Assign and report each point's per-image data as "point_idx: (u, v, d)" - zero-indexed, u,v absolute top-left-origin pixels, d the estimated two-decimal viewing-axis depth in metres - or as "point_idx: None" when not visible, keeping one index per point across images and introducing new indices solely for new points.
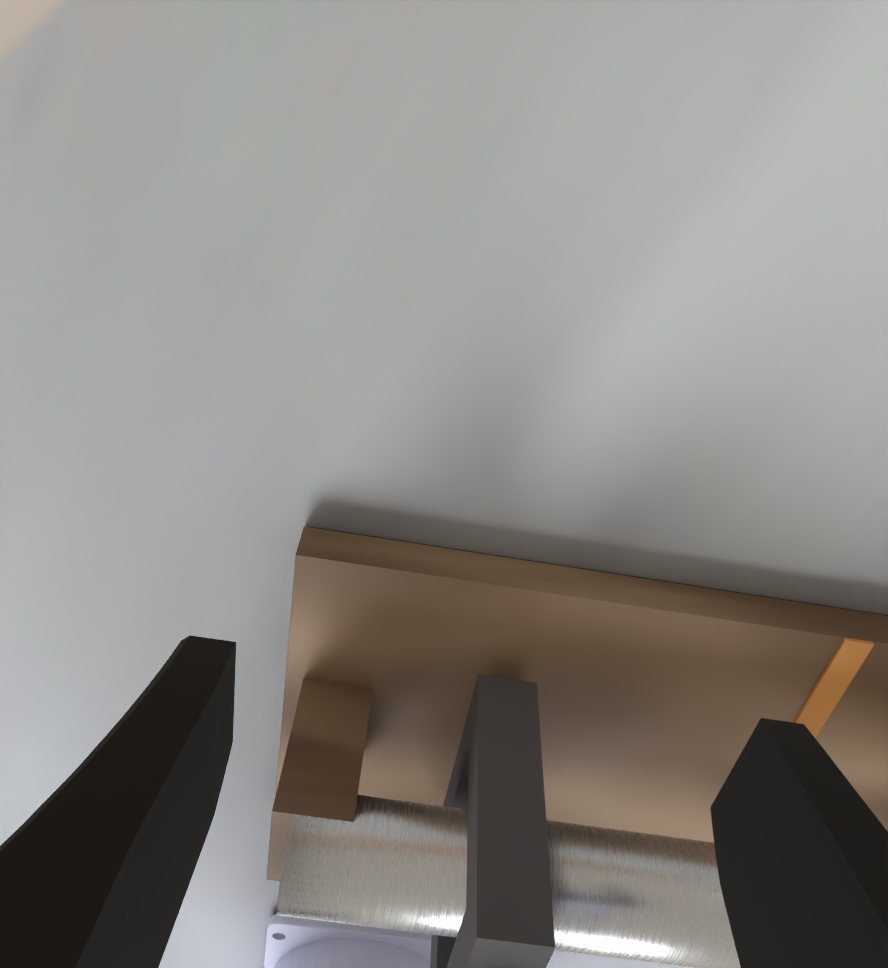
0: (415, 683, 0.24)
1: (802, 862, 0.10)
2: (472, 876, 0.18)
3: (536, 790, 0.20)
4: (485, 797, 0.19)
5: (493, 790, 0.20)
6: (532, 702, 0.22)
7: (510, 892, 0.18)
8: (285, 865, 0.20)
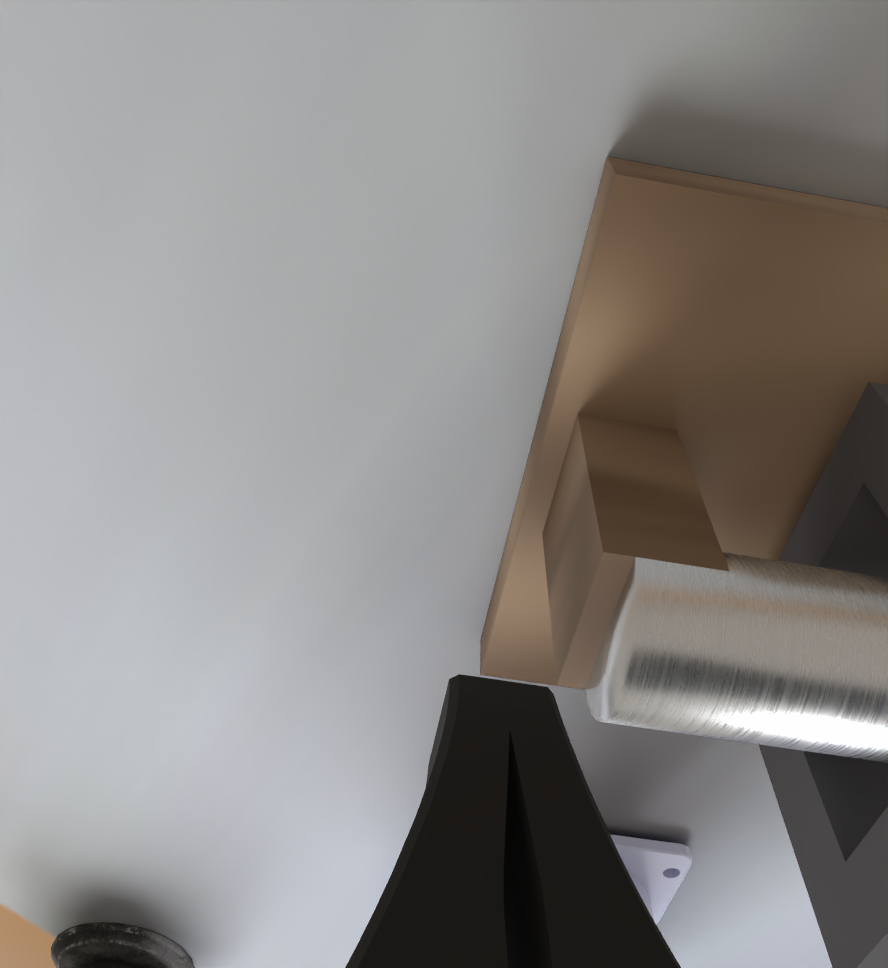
0: (743, 419, 0.16)
1: (508, 822, 0.10)
2: None
3: None
4: None
5: None
6: None
7: None
8: (641, 626, 0.12)
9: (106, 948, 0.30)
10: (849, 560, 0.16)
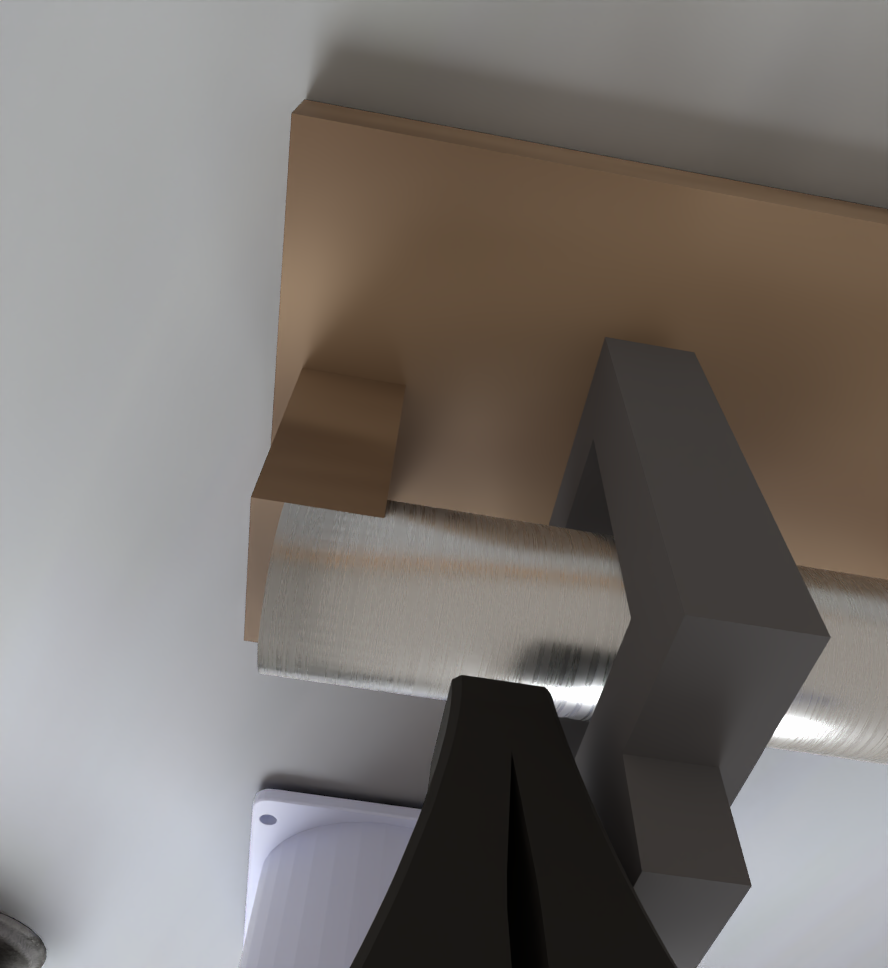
0: (470, 374, 0.16)
1: None
2: (645, 556, 0.10)
3: (730, 453, 0.12)
4: (650, 453, 0.12)
5: (662, 447, 0.12)
6: (694, 369, 0.14)
7: (727, 562, 0.10)
8: (272, 571, 0.12)
9: None
10: (595, 521, 0.15)
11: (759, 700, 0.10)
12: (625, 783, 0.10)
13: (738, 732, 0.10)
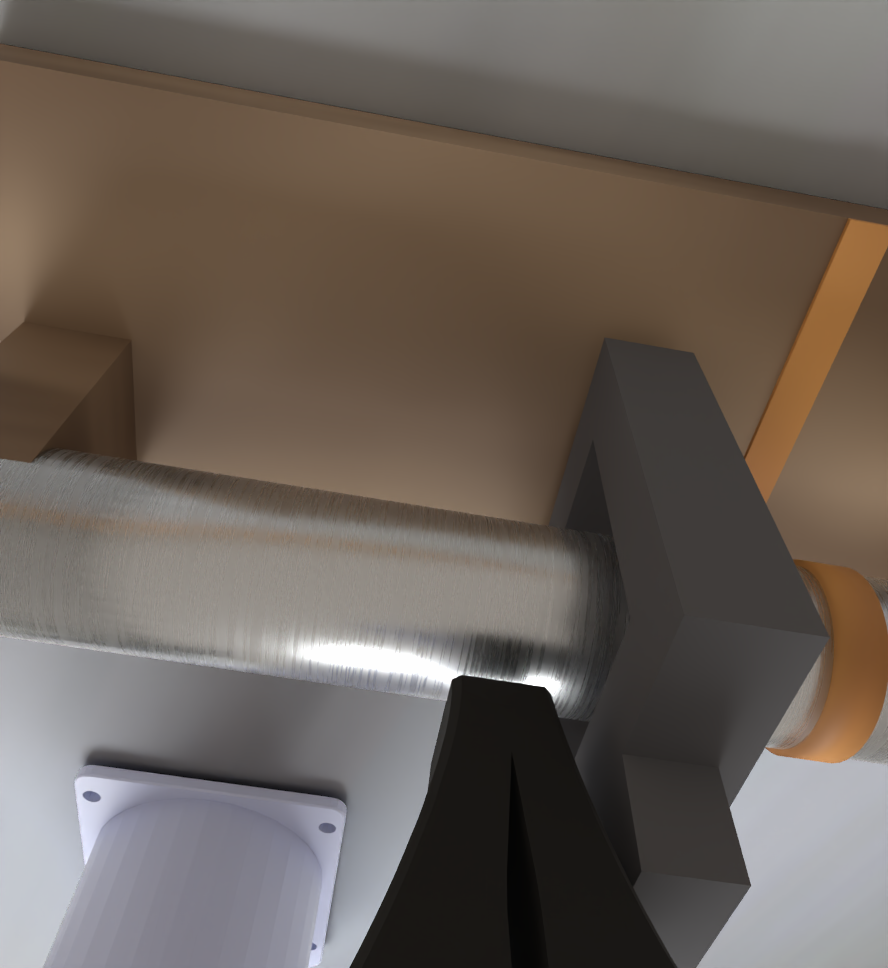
0: (194, 328, 0.16)
1: None
2: (645, 557, 0.10)
3: (730, 453, 0.12)
4: (650, 454, 0.12)
5: (661, 448, 0.12)
6: (693, 370, 0.14)
7: (726, 563, 0.10)
8: None
9: None
10: (595, 521, 0.15)
11: (758, 700, 0.10)
12: (624, 783, 0.10)
13: (738, 733, 0.10)
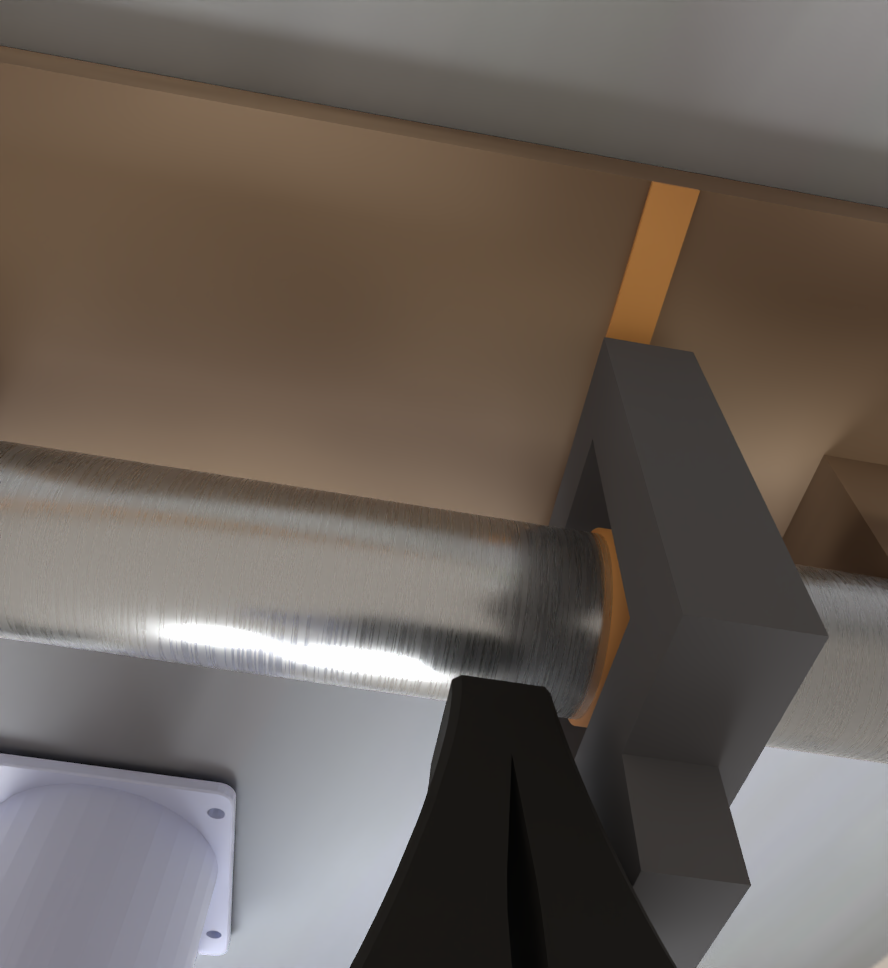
0: (9, 298, 0.16)
1: None
2: (644, 556, 0.10)
3: (729, 453, 0.12)
4: (649, 453, 0.12)
5: (660, 447, 0.12)
6: (693, 369, 0.14)
7: (725, 562, 0.10)
8: None
9: None
10: (595, 521, 0.15)
11: (759, 700, 0.10)
12: (624, 784, 0.10)
13: (737, 732, 0.10)
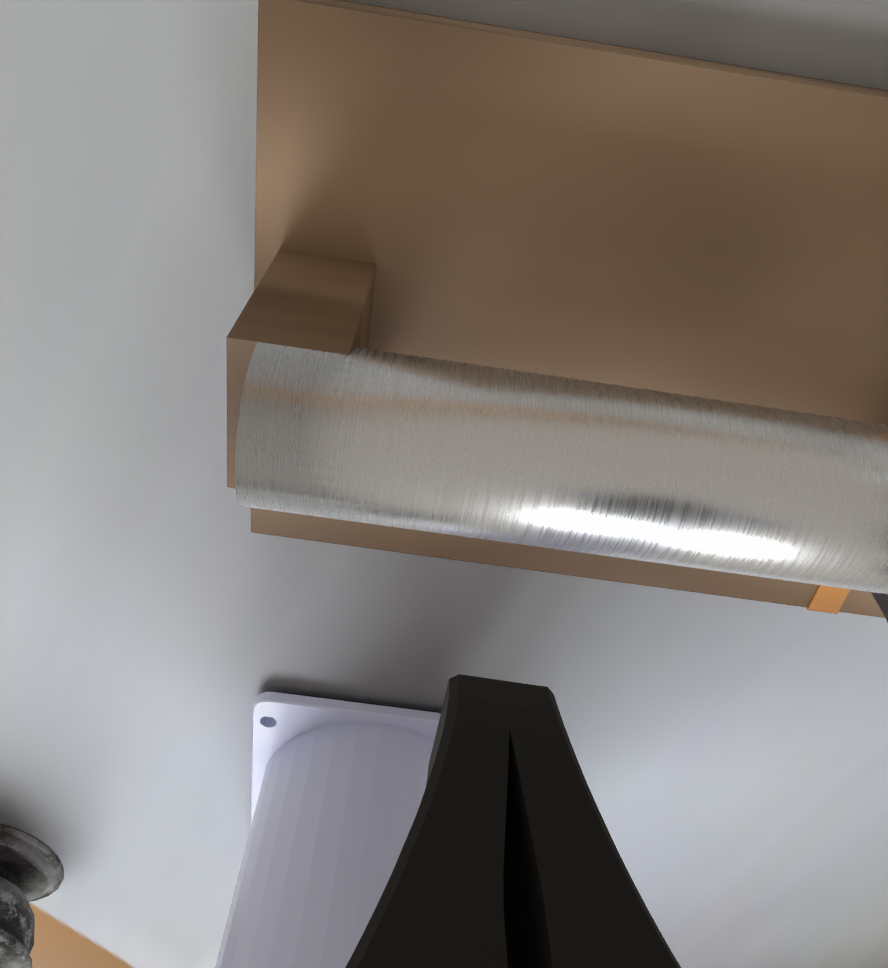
0: (436, 250, 0.17)
1: (508, 823, 0.10)
2: None
3: None
4: None
5: None
6: None
7: None
8: (245, 396, 0.13)
9: None
10: None
11: None
12: None
13: None
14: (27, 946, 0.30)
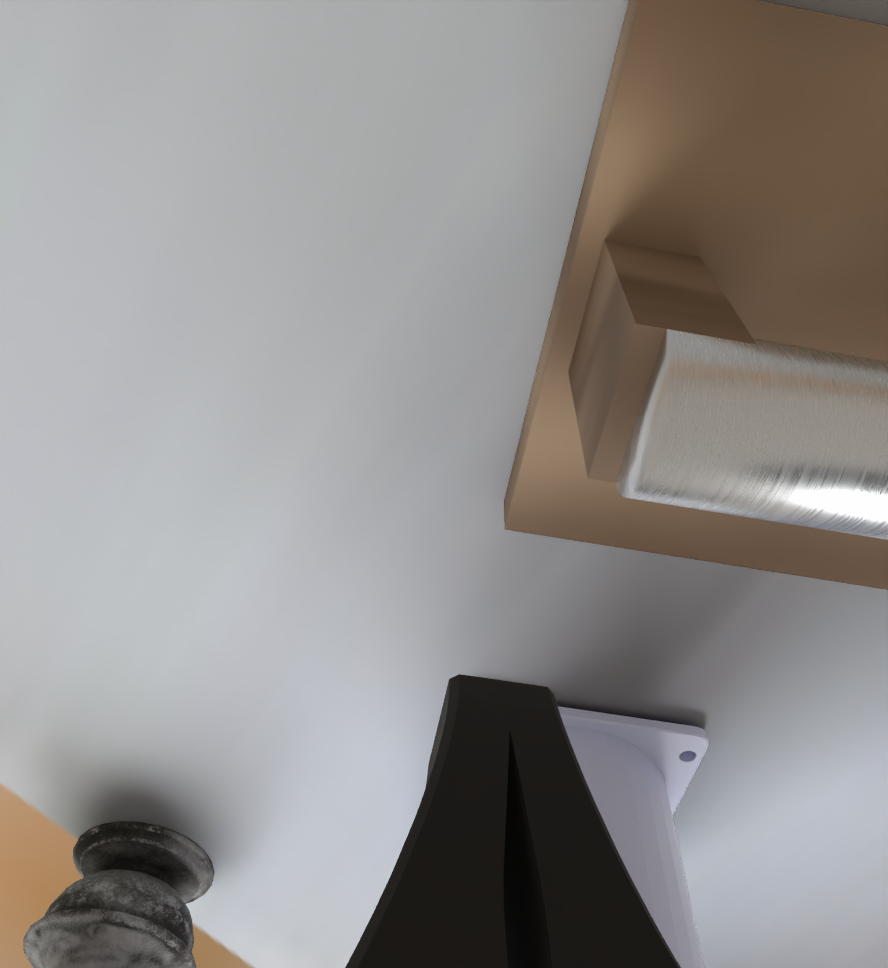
0: (764, 245, 0.17)
1: (507, 822, 0.10)
2: None
3: None
4: None
5: None
6: None
7: None
8: (674, 383, 0.13)
9: (129, 847, 0.31)
10: None
11: None
12: None
13: None
14: None
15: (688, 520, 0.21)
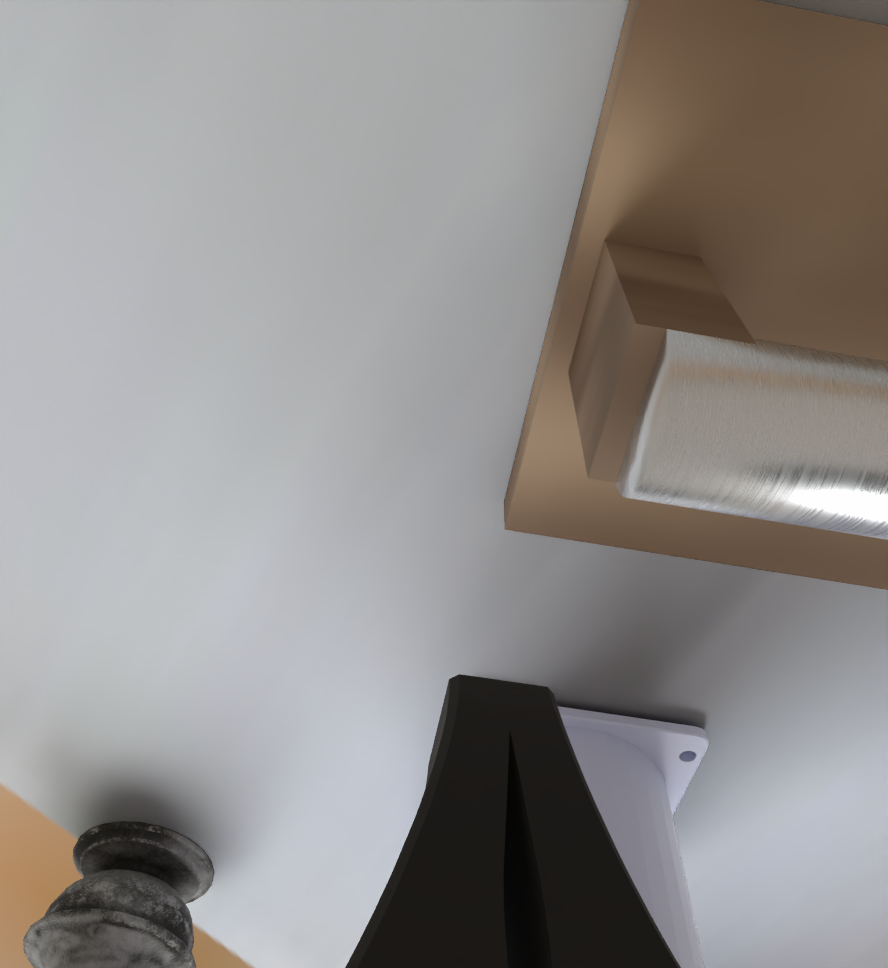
0: (764, 245, 0.17)
1: (507, 822, 0.10)
2: None
3: None
4: None
5: None
6: None
7: None
8: (674, 383, 0.13)
9: (129, 847, 0.31)
10: None
11: None
12: None
13: None
14: None
15: (688, 520, 0.21)
